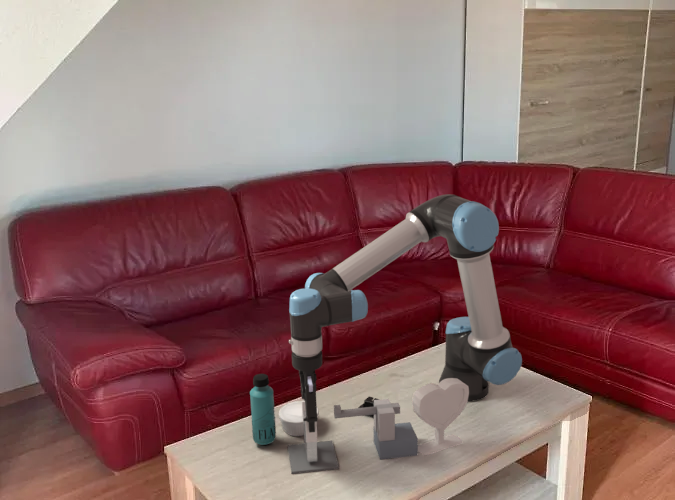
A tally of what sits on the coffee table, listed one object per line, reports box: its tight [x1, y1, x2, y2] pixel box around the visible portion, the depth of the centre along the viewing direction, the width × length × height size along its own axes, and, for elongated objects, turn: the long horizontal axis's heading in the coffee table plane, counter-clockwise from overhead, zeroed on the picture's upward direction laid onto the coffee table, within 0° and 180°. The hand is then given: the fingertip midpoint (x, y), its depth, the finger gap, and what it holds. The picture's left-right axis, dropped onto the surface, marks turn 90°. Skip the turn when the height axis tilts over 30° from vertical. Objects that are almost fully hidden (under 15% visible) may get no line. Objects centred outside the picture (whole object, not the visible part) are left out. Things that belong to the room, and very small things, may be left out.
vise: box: [333, 398, 419, 460], centre depth 175 cm, size 21×8×14 cm, turn 99°
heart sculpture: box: [411, 378, 469, 456], centre depth 176 cm, size 16×5×18 cm, turn 117°
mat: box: [287, 440, 340, 475], centre depth 174 cm, size 12×12×1 cm
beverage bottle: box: [249, 373, 277, 446], centre depth 178 cm, size 6×7×20 cm
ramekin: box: [278, 400, 320, 437], centre depth 188 cm, size 11×11×5 cm
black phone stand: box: [357, 395, 381, 419], centre depth 195 cm, size 12×7×5 cm, turn 58°
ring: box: [303, 411, 318, 462], centre depth 172 cm, size 2×8×10 cm, turn 9°
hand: (309, 431), depth 172 cm, fingers closed on ring, 8 cm apart
